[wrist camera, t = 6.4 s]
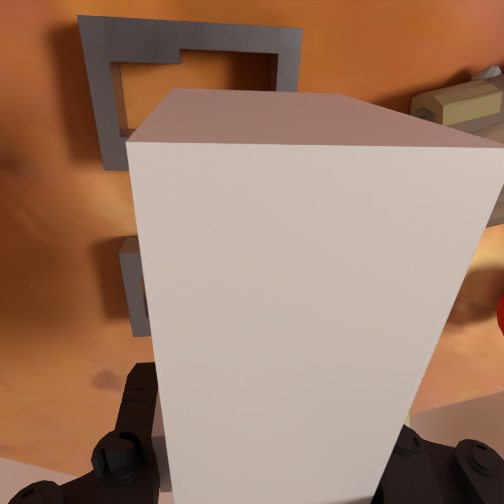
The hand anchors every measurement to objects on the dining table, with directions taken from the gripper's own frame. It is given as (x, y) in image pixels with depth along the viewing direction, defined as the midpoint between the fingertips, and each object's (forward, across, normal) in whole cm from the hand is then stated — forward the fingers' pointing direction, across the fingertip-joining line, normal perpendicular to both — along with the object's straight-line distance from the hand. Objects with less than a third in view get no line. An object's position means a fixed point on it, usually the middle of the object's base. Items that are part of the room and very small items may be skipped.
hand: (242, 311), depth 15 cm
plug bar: (0, 0, 0) cm, 0 cm away
